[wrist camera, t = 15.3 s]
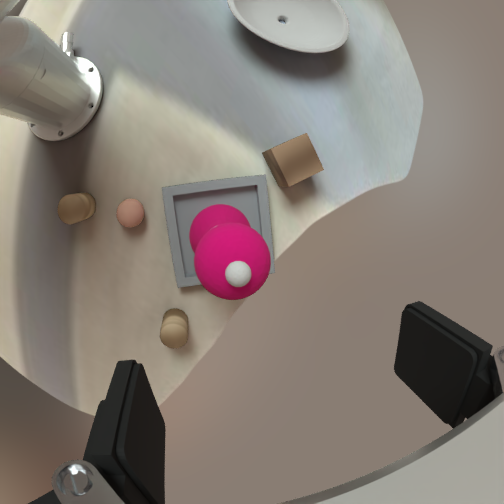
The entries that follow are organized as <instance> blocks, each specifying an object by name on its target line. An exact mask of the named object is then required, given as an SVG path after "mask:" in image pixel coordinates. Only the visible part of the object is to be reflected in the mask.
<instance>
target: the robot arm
mask: <svg viewBox="0 0 504 504" xmlns="http://www.w3.org/2000/svg"><path fill="white" fill-rule="evenodd" d="M19 1H20V0H0V114H1V115H5V116H8V117H11V118H15V119H18V120H21V121H25V122H27V123H28V126H29V128H30V129H31V131H32V132H33V133H34V134H35V135H36V136H38V137H39V138H42V139H44V140H49V141H60V140H64V139H67V138H69V137H71V136H73V135H75V134H76V133H78V132H79V131H81V130H82V129H83V128H84V127H85V126H86V125H87V124H88V123H89V121H90V120H91V119H92V118H93V116H94V114H95V113H96V111H97V109H98V107H99V104H100V102H101V98H102V93H103V81H102V77H101V74H100V72H99V70H98V69H97V67H96V66H95V65H94V64H93V63H92V62H91V61H89V60H88V59H85V58H82V57H74V51H73V50H72V44H73V35H74V34H73V33H72V32H66V33H64V34H62V35H61V40H60V47H59V46H58V45H57V44H56V43H55V42H54V41H53V40H52V39H51V38H50V37H49V36H48V35H47V34H46V33H45V32H44V31H43V30H42V29H41V28H40V27H38V26H37V25H36V24H35V23H34V22H33V21H31V20H29V19H26V18H24V17H18V16H7V17H5V16H6V15H7V14H8V13H9V11H11V9H12V8H13V7H14V6H15V5H16V4H17V3H18V2H19ZM92 71H93V72H92ZM93 105H94V107H93V108H92V106H93ZM62 134H63V136H62ZM491 350H492V345H491V344H489V343H487V342H486V341H484V340H483V339H481V338H480V337H478V336H476V335H475V334H473V333H472V332H470V331H468V330H467V329H465V328H464V327H462V326H460V325H459V324H457V323H456V322H454V321H452V320H451V319H449V318H447V317H446V316H444V315H442V314H441V313H439V312H437V311H436V310H434V309H432V308H431V307H429V306H427V305H426V304H424V303H422V302H420V301H418V302H415V303H412V304H408V305H407V306H406V307H405V309H404V310H403V312H402V318H401V326H400V333H399V340H398V346H397V353H396V359H395V364H394V370H395V373H396V375H397V376H398V377H399V378H400V379H401V380H402V381H403V382H404V383H405V384H406V385H407V386H408V387H410V389H411V390H412V391H413V392H414V393H415V394H416V395H417V396H418V397H419V398H420V399H421V400H422V401H423V402H424V403H425V404H426V405H427V406H428V407H429V408H430V409H431V410H432V411H433V412H434V413H435V414H436V415H437V416H438V417H439V418H440V419H441V420H442V421H443V422H444V423H446V424H449V425H450V426H451V427H452V428H453V429H452V430H451V431H449V432H448V433H446V434H444V435H443V436H441V437H440V438H438V439H436V440H435V441H433V442H431V443H429V444H428V445H426V446H424V447H422V448H421V449H419V450H417V451H415V452H413V453H411V454H410V455H408V456H406V457H404V458H402V459H400V460H398V461H396V462H394V463H392V464H389V465H387V466H385V467H383V468H381V469H379V470H376V471H374V472H372V473H369V474H367V475H365V476H362V477H360V478H357V479H355V480H352V481H349V482H347V483H344V484H342V485H339V486H336V487H333V488H330V489H327V490H324V491H321V492H318V493H315V494H311V495H308V496H305V497H301V498H297V499H294V500H290V501H286V502H282V503H278V504H504V346H502V347H499V348H498V349H497V350H496V351H495V352H494V355H493V356H491V355H490V353H491ZM465 417H466V418H467V420H466V421H465V422H463V421H464V419H465ZM164 464H165V423H164V420H163V417H162V415H161V412H160V410H159V407H158V405H157V402H156V400H155V397H154V395H153V392H152V389H151V387H150V384H149V381H148V378H147V376H146V373H145V370H144V367H143V365H142V364H137V362H136V360H125V361H118V363H117V365H116V368H115V371H114V374H113V377H112V380H111V383H110V386H109V390H108V393H107V396H106V399H105V400H102V401H101V402H100V404H99V406H98V409H97V412H96V415H95V419H94V422H93V425H92V429H91V432H90V436H89V439H88V443H87V447H86V450H85V454H84V458H83V460H71V461H68V462H65V463H63V464H62V465H60V466H59V467H58V468H57V469H56V470H55V472H54V474H53V476H52V486H53V489H54V490H52V491H50V492H48V493H47V494H45V495H43V496H41V497H39V498H38V499H36V500H34V501H32V502H30V503H28V504H165V491H164V469H165V468H164V466H165V465H164Z"/></svg>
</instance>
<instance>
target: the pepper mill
mask: <svg viewBox="0 0 504 504" xmlns="http://www.w3.org/2000/svg"><path fill="white" fill-rule="evenodd" d="M189 240H190V244H191V247H192V250H193V252H194V253H195V256H194V267H195V272H196V274H197V277H198V279H199V281H200V282H201V284H202V285H203V287H204V288H205V289H206V290H207V291H208V292H210V293H212V294H213V295H215V296H217V297H220V298H223V299H228V300H237V299H242V298H245V297H248V296H250V295H252V294H254V293H255V292H256V291H257V290H259V288H260V287H261V286H262V285H263V284H264V282H265V281H266V279H267V277H268V275H269V272H270V267H271V256H270V251H269V248H268V246H267V244H266V242H265V240H264V239H263V237H262V236H261V235H260V234H259V233H258V232H257V231H256V230H254V229H253V228H251V226H250V224H249V222H248V220H247V218H246V217H245V215H244V214H243V213H242V212H241V211H240V210H238V209H237V208H235V207H233V206H230V205H225V204H216V205H212V206H209V207H207V208H205V209H203V210H202V211H201V212H199V213H198V214H197V216H196V217H195V218H194V220H193V222H192V224H191V227H190V231H189Z"/></svg>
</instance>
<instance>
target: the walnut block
mask: <svg viewBox="0 0 504 504" xmlns="http://www.w3.org/2000/svg"><path fill="white" fill-rule="evenodd" d="M262 154H263V156H264V158H265V160H266V162H267V164H268V166H269V168H270V170H271V172H272V174H273V176H274V178H275V180H276V182H277V184H278V186H284V187H290V186H292V185H294V184H296V183H298V182H300V181H302V180H304V179H306V178H308V177H310V176H312V175H314V174H316V173H318V172H320V171H322V170H324V169H323V167H322V164H321V162H320V160H319V158H318V156H317V154H316V151H315V149H314V147H313V145H312V143H311V141H310V139H309V137H308V134H307V133H305V134H303V135H301V136H298V137H296V138H293V139H291V140H289V141H287V142H284V143H282V144H280V145H278V146H276V147H273V148H271V149H269V150H267V151H265V152H263V153H262Z"/></svg>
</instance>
